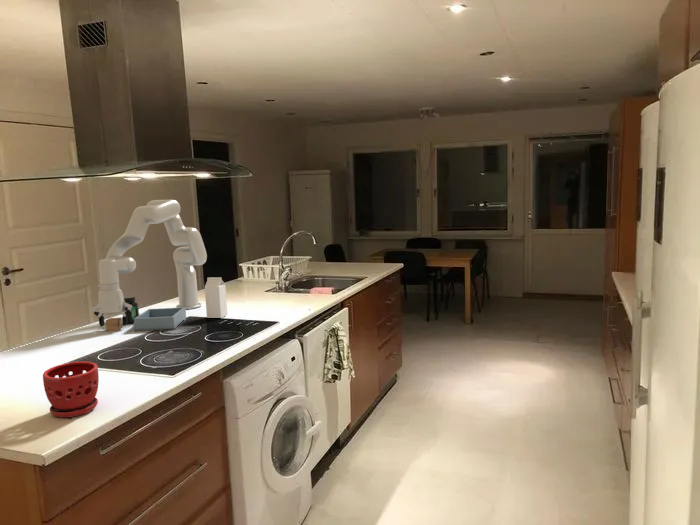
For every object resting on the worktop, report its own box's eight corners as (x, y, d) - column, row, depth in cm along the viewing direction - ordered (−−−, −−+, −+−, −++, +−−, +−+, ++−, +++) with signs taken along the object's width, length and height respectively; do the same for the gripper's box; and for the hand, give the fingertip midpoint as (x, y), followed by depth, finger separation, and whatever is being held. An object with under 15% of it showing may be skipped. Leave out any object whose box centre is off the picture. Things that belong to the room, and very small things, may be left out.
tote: (149, 320, 252) (148, 309, 252) (186, 318, 253) (185, 307, 252) (134, 331, 232) (133, 318, 232) (174, 329, 233) (173, 316, 233)
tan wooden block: (110, 328, 239) (109, 317, 239) (122, 328, 240) (121, 317, 239) (106, 331, 234) (105, 320, 234) (118, 331, 235) (117, 319, 234)
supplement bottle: (138, 323, 247) (135, 297, 246) (122, 324, 246) (120, 299, 244) (140, 320, 254) (138, 295, 252) (125, 321, 253) (123, 296, 251)
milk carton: (221, 319, 250) (218, 278, 247) (206, 318, 251) (203, 278, 249) (227, 315, 256) (224, 276, 254) (213, 315, 258) (210, 276, 255)
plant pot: (36, 417, 142) (30, 373, 140) (78, 399, 154) (74, 359, 152) (70, 424, 136) (65, 379, 135) (112, 405, 148) (108, 363, 147)
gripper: (86, 289, 230) (90, 328, 232) (127, 287, 231) (130, 326, 233) (93, 286, 238) (97, 324, 240) (133, 284, 239) (136, 322, 241)
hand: (113, 325), depth 237 cm, fingers open, 9 cm apart
